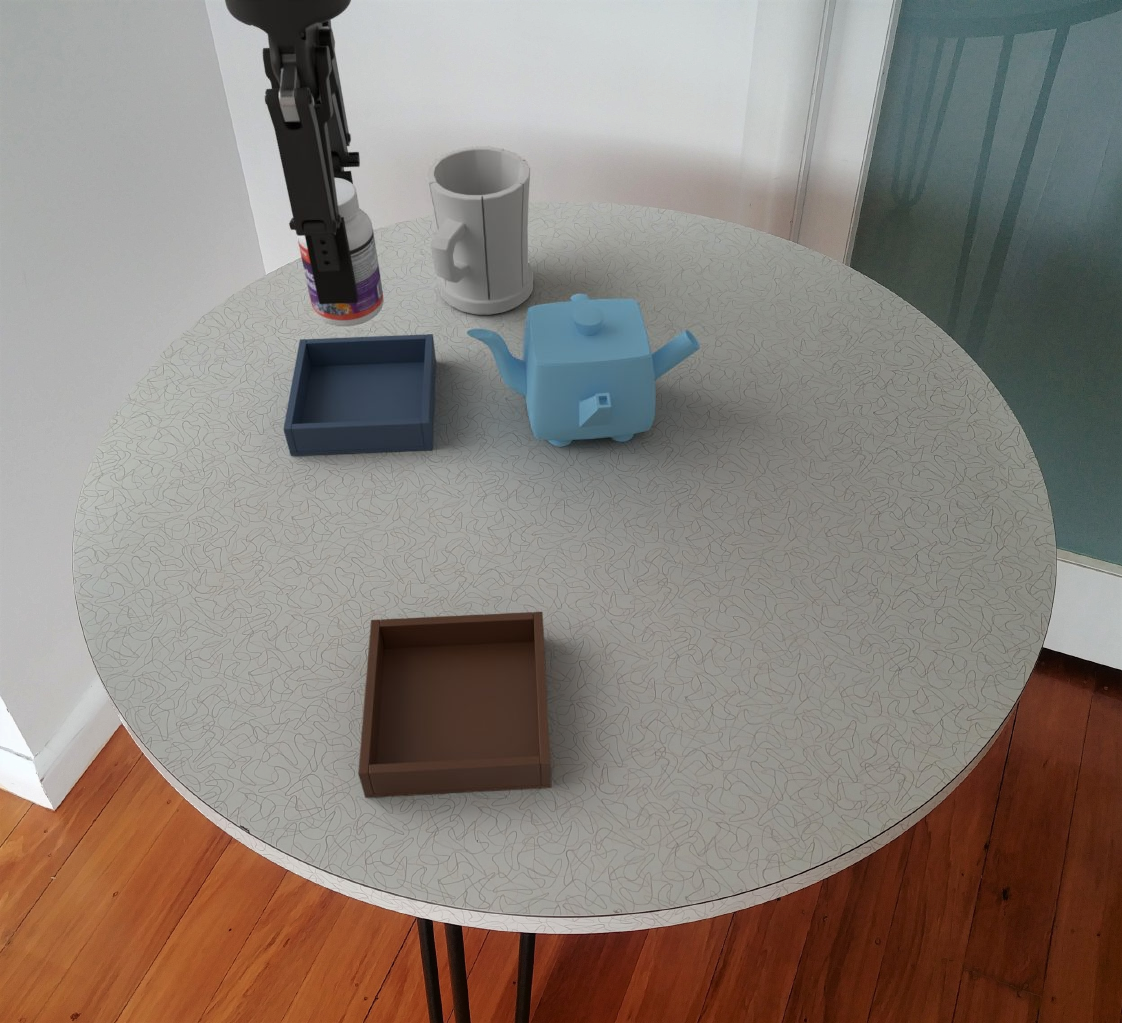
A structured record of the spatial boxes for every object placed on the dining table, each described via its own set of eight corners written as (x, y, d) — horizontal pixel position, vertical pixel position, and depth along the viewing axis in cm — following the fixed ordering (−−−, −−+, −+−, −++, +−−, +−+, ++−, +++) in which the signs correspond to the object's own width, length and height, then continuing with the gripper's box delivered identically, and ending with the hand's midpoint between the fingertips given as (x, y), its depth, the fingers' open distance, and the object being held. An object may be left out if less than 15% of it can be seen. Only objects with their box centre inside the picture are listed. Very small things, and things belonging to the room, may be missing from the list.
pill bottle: (298, 313, 80) (271, 197, 73) (346, 278, 83) (324, 164, 76) (352, 337, 78) (329, 221, 71) (399, 301, 81) (382, 185, 74)
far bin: (290, 456, 84) (283, 429, 82) (306, 366, 91) (299, 339, 89) (432, 450, 84) (428, 423, 82) (436, 360, 92) (432, 333, 90)
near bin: (365, 797, 64) (357, 773, 61) (376, 645, 71) (370, 619, 69) (551, 787, 64) (550, 763, 62) (543, 637, 72) (542, 611, 69)
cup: (541, 324, 95) (538, 205, 86) (440, 333, 94) (426, 213, 86) (528, 258, 102) (524, 142, 93) (434, 266, 101) (421, 149, 93)
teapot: (679, 359, 92) (688, 259, 84) (712, 472, 82) (726, 371, 75) (471, 374, 90) (462, 274, 83) (480, 491, 81) (470, 390, 73)
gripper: (328, -1, 55) (386, 352, 72) (355, -117, 68) (399, 207, 85) (182, 4, 55) (275, 356, 72) (237, -113, 68) (305, 210, 85)
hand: (342, 275), depth 78 cm, fingers closed on pill bottle, 5 cm apart
